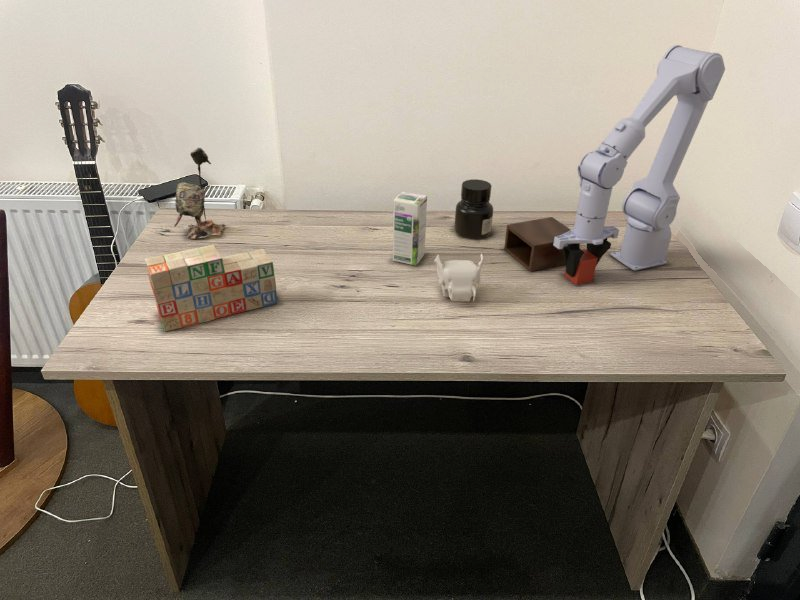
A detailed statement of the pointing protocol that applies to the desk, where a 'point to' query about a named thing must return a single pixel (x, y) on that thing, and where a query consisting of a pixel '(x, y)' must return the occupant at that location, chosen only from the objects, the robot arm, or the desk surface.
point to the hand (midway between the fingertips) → (579, 272)
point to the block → (584, 269)
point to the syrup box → (409, 227)
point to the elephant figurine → (458, 278)
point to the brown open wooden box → (535, 243)
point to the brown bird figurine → (195, 203)
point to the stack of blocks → (209, 284)
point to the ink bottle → (474, 210)
